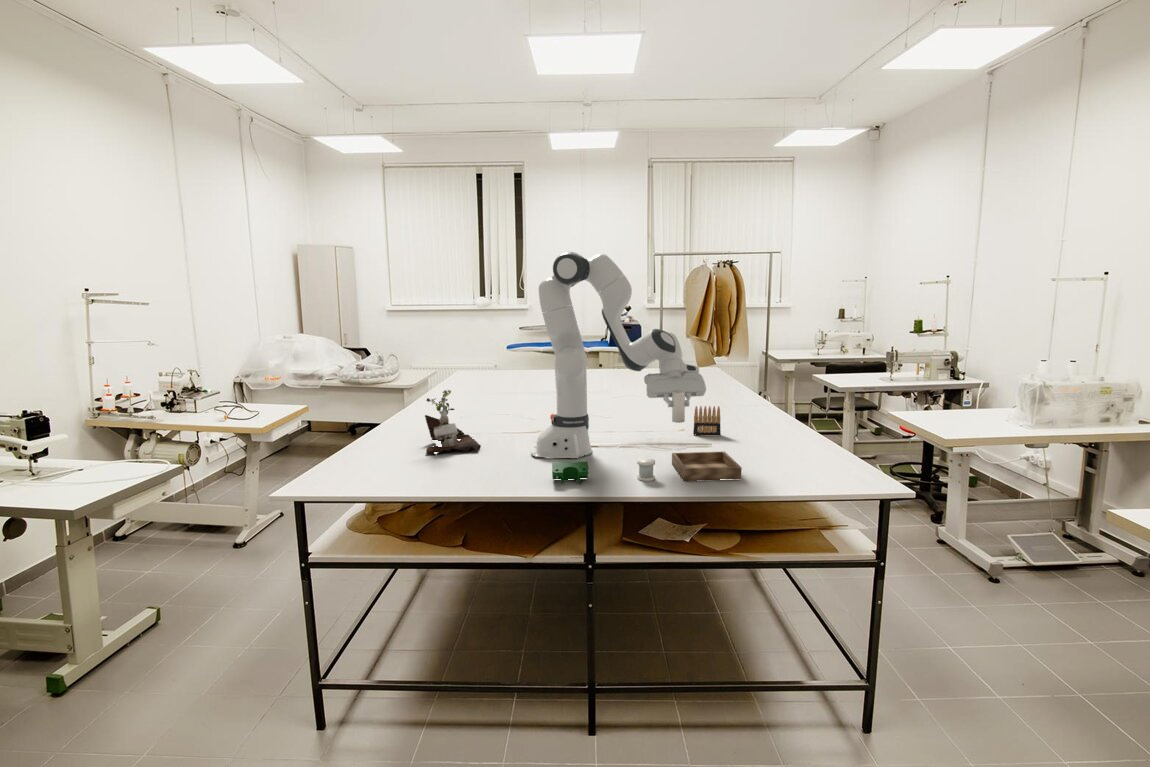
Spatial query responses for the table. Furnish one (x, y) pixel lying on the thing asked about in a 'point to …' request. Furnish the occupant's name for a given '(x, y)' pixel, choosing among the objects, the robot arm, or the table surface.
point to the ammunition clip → (707, 422)
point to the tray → (705, 466)
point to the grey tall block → (678, 406)
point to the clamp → (570, 470)
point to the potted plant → (447, 431)
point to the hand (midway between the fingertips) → (678, 406)
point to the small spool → (646, 469)
